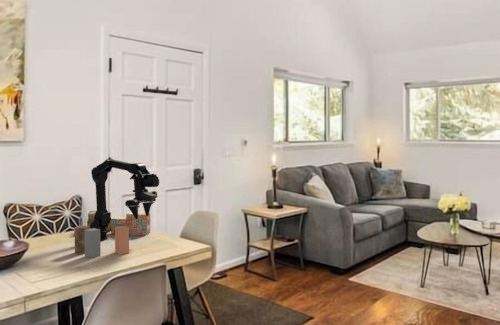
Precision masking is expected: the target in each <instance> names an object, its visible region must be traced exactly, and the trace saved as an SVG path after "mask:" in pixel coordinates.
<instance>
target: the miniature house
mask: <svg viewBox="0 0 500 325" xmlns="http://www.w3.org/2000/svg"><path fill="white" fill-rule="evenodd" d="M96 211H97V210H89V211H88V213H87V221H86V226H90V225H91V224H92V222H93V221H94V215H95V213H96ZM106 231H107V233H110V232H111V220H110V223H109V225H108V227H106Z"/></svg>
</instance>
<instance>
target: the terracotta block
mask: <svg viewBox="0 0 500 325" xmlns="http://www.w3.org/2000/svg"><path fill="white" fill-rule="evenodd" d="M114 253H115V254H117V255H118V254H119V255H120V254H121V255H126V254H130V235H129V227H127V226H119V227H115V234H114ZM119 255H118V256H119ZM121 255H120V256H121Z"/></svg>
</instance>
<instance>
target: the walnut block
mask: <svg viewBox="0 0 500 325" xmlns="http://www.w3.org/2000/svg"><path fill="white" fill-rule="evenodd" d="M87 229H90V226H87V225H78V226H75V227H74V254H75V255H76V254H77V255H78V254H81V255H85V230H87Z"/></svg>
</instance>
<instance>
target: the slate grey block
mask: <svg viewBox="0 0 500 325" xmlns="http://www.w3.org/2000/svg"><path fill="white" fill-rule="evenodd" d="M101 253H102V252H101V241H100V229H95V228H92V229H87V230H85V254H84V257H85V256H86V258H89V257H90V258H89V259H94V258H98V257H101V256H102V255H101ZM93 257H94V258H93Z"/></svg>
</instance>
